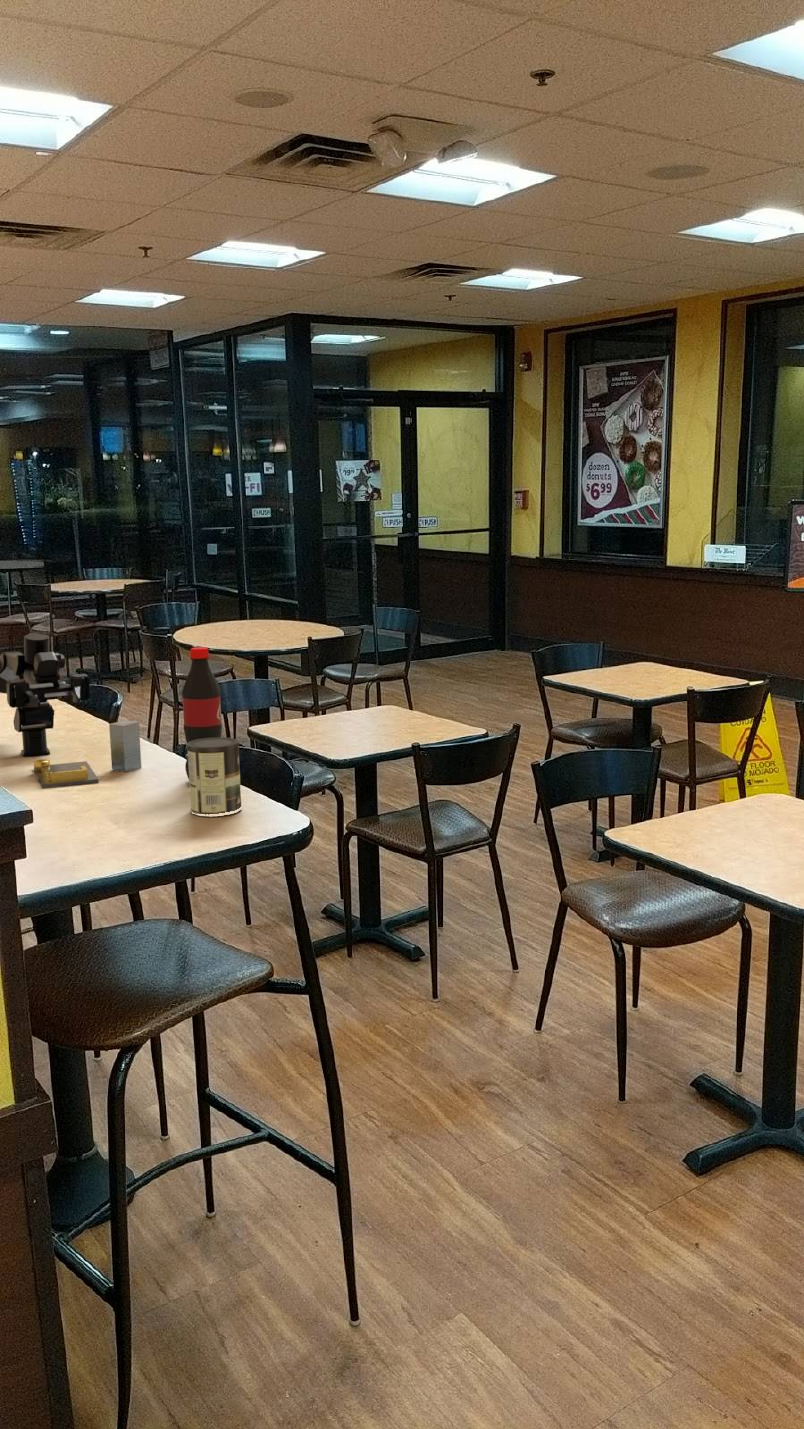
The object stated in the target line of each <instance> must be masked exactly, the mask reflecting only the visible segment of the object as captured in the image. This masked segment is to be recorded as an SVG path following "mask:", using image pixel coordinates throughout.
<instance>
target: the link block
mask: <svg viewBox="0 0 804 1429" xmlns="http://www.w3.org/2000/svg"><path fill="white" fill-rule="evenodd" d="M108 726H109V729H108V730H109V740H110V741H109V744H110V745H109V746H110V757H111V758H110V760H111V770H112V769H113V770H112V771H115V770H118V771H117V772H121V771H123V772H122V773H127V771H128V772H131V770H132V771H135V770H134V769H136V770H139V769H142V755H141V753H142V752H141V751H142V750H141V739H140V738H141V737H140V735H141V734H140V722H139V721H133V720H121V721H117V722H112V723H109V724H108Z"/></svg>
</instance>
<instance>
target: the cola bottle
mask: <svg viewBox="0 0 804 1429" xmlns="http://www.w3.org/2000/svg"><path fill="white" fill-rule="evenodd" d="M209 651H210V650H209V648H208V647H204V646H199V647H192V648H190V651H189V657H190V658H189V659H190V660H191V664H190V670H189V671H188V674H187V676H186V678H185V682H184V684H183V688H182V691H181V696H182V707H183V712H182V713H183V733H184V738H185V742H186V744H187V743H188V742H190V741H193V740H197V739H203V738H214V737H222V732H223V723H222V707H221V706H222V705H221V693H222V692H221V688H220V686H219V685H220V684H218V681H217V679H216V676H215V675H214V673H213V671H212V670H211V668H210V664H209V659H210V653H209ZM186 757H187V758H186V760H185V767H184V768H185V772H186V777H187V779H188V780H189V766H188V756H186Z"/></svg>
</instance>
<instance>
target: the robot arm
mask: <svg viewBox="0 0 804 1429" xmlns="http://www.w3.org/2000/svg"><path fill="white" fill-rule="evenodd" d="M23 639H24V640H23V642H24V643H23V644H24V647H23V649H24V654H23V653H22V652H21V651H16V650H15V651H6V652H3V653H0V694H6V701H7V704H8V706H9V707H10V708H13V709H14V708H15V711H14V712H15V713H14V715H13V727H14V728H13V729H14V730H15V732H18V733H21V736H22V737H21V738H22V748H23V749H20V753H21V754H22V757H29V756H32V757H33V756H42V755H51V751H50V749H49V748H48V742H47V741H48V740H47V730H49V729H51V730H52V729H54V727H55V726H54V722H55V721H54V720H55V719H54V718H55V709H54V708H53V706H52V704H50V702H49V701H50V700H52V701H53V700H58V699H59V697H63V696H69V697H70V700H71V701H72V703H81V702H85V701H88V700H89V699H90V696H91V694H90V692H91V690H90V687H91V686H90V685H91V684H90V682H91V681H90V680H91V678H90V677H89V676H88V675H87V674H86V673H77V674H75V673H74V674H70V677H69V684H62V685H61V684H60V682H59V681H60V680H61V675H60V674H59V671H60V670H61V669H65V666H66V657H65V655H63V654H62V653H59V652H54V651H50V635H49V634H43V633H38V632H28V634H26V635H25V636H24V637H23Z"/></svg>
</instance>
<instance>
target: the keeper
mask: <svg viewBox="0 0 804 1429" xmlns="http://www.w3.org/2000/svg"><path fill="white" fill-rule="evenodd" d="M33 770H34V772H35V775H36V778H37V779H38V781H39V784H40V787H41V788H42V789H50V788H59V787H60V788H61V787H68V786H79V785H88V784H98V783H99V782H100V781H99V778H98V776H97V775H96V773H95V772H94V771H93V769H92V768H91V766H90V764H89V763H88V762H87V761H75V762H65V763H56V764H54V763H53V764H51V761H50V759H45V758H44V759H38V760H36V759H35V760H34V761H33Z"/></svg>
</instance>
